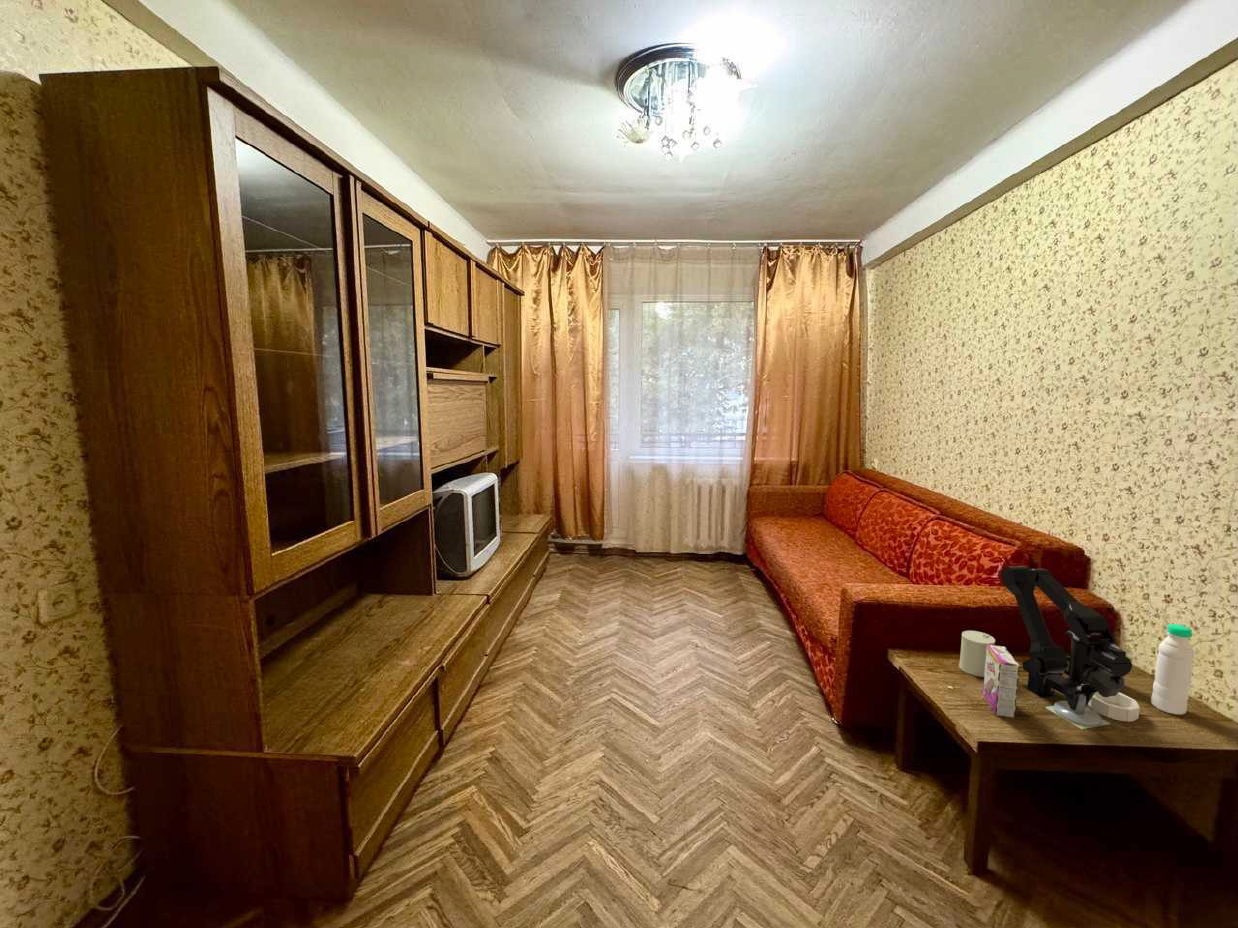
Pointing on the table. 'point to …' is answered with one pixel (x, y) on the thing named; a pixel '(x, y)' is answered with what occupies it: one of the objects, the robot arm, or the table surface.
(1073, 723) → the mat
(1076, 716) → the lid
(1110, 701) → the bowl
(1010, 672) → the candy bar box
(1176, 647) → the water bottle
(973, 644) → the can
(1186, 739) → the table surface
